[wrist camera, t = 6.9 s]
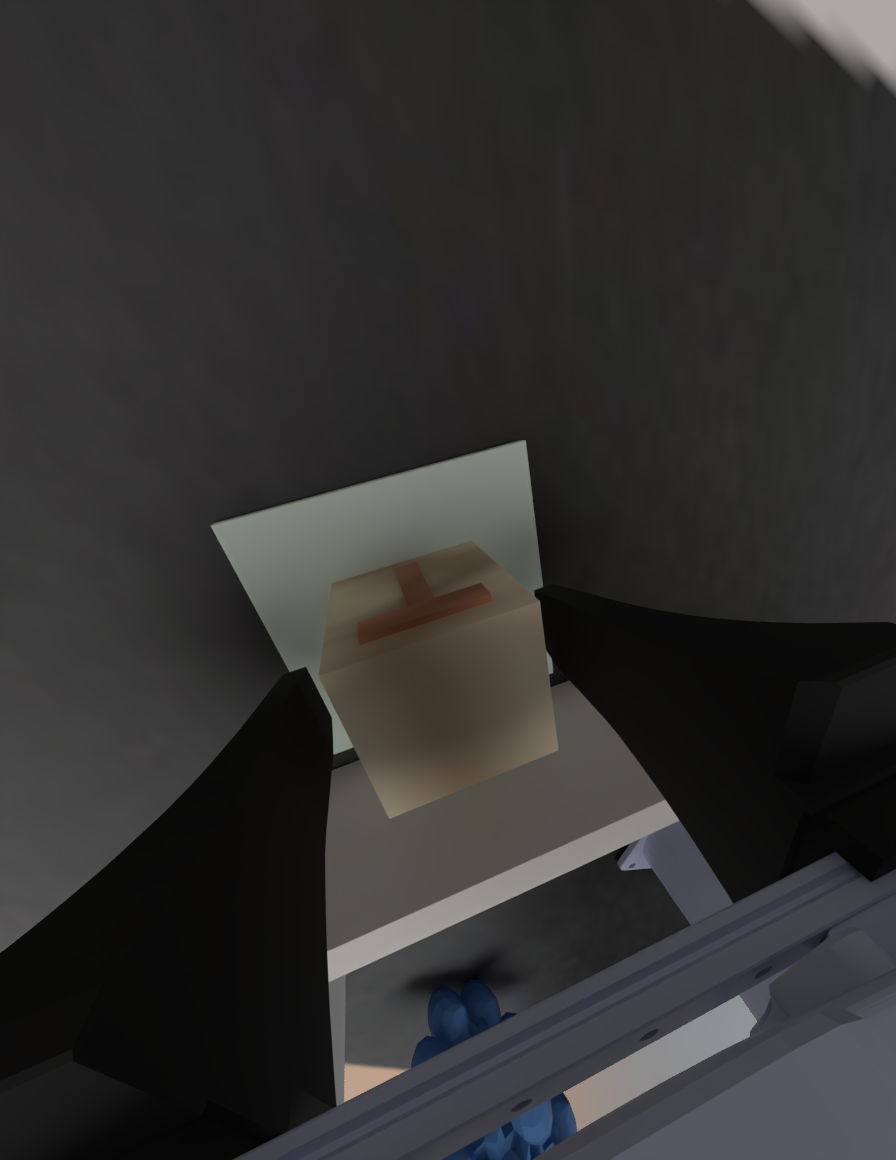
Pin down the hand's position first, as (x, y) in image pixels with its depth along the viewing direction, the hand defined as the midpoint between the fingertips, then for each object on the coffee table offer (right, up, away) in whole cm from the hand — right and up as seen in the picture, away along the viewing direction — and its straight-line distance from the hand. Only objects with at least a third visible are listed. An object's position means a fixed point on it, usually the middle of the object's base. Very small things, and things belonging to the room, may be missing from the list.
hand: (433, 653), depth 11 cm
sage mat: (-1, +1, +3) cm, 3 cm away
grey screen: (+1, -5, +6) cm, 8 cm away
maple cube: (-1, +1, +2) cm, 3 cm away
